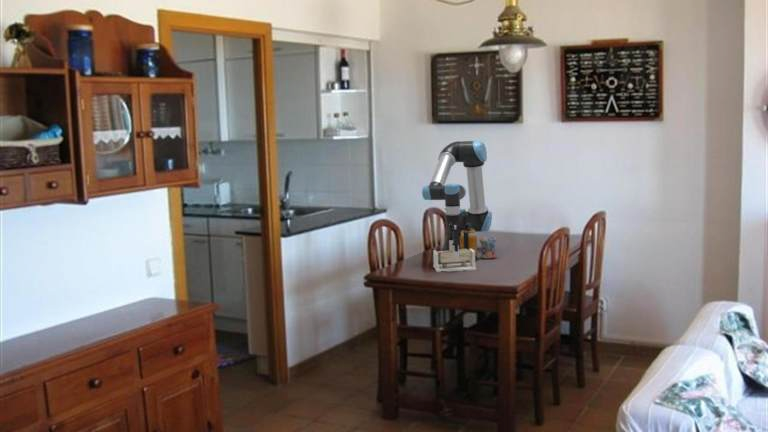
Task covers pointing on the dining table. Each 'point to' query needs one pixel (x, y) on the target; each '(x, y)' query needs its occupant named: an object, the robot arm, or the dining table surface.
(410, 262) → the dining table surface
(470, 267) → the cradle
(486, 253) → the mug
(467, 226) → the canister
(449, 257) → the cream long box
